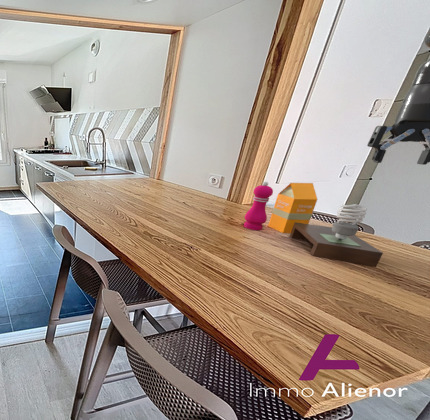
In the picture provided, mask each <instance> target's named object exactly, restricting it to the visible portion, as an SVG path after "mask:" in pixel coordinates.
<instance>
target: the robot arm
mask: <svg viewBox="0 0 430 420" xmlns="http://www.w3.org/2000/svg"><path fill="white" fill-rule="evenodd" d="M423 43H424V45H425V47H426V48H428V49H430V30H428V32H427V33H426V34H425V36H424V37H423ZM389 132H390V134H391V135H389V136H388V137H386V138H384V136H385V135H386V134H388V133H389ZM383 138H384V139H383ZM382 139H383V141H382ZM381 141H382V142H381ZM400 142H402V143H407V142H410V143H411V142H412V143H419V144H420V145H421V146H422V147H423V149H424V150H421V153H420V155H419V157H418V160H417V161H416V164H417V165H421V166H422V165H424V166H426V165H427V164H429V163H430V58H428V59H427V60H426V61H424V62H423V63H422V64H420V66H419V67H418V69H417V71H416V73H415V75H414V78H413V80H412V83H411V86H410V87H409V89H408V91H407V92H406V94H405V96H404V98H403V100H402V102H401V105H400V108H399V110H398V112H397V115H396V117H395V120H394V124H392V126H388V125H377V126H376V127H375V128H374V130H373V132H372V134H371V137H370V138H369V140H368V142H367V145H366V146H367V147H369V148H372V149H374V152H373V155H372V156H371V160H372V161H373V163H375V164H381V163H382V162H383V159H384V157H385V154H386V152H387V149H389V148H390V147H391V146H392V145H395V144H397V143H400Z"/></svg>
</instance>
